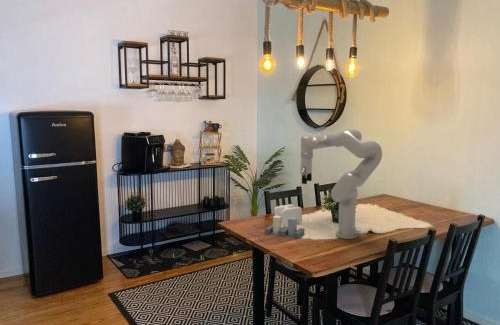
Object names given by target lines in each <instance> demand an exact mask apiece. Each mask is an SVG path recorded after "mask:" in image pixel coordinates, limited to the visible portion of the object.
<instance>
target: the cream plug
mask: <svg viewBox="0 0 500 325" xmlns="http://www.w3.org/2000/svg"><path fill="white" fill-rule="evenodd" d="M272 224H273V233H275V234H278V230H280V229H281V228H282V227H283V224H282V216H275V215H274V216H272Z"/></svg>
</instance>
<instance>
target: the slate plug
mask: <svg viewBox="0 0 500 325" xmlns="http://www.w3.org/2000/svg"><path fill="white" fill-rule="evenodd" d="M287 226H288V235H289V236H294V233H295V232H296V231H297V230H298V228H297V227H298V224H297V218H292V217H290V218H289V219H288V225H287Z"/></svg>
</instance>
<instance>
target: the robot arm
mask: <svg viewBox="0 0 500 325" xmlns="http://www.w3.org/2000/svg"><path fill="white" fill-rule="evenodd" d="M362 136H363V135H362V133H361V132H360V131H359V130H357V129H347V130H343V131H338V132H333V133H332V134H325V135H317V136H311V135H303V136H301V138H300V158H301V159H300V172H299V173H300V174H301V185H302V184H303V185H307V184H308V182H311V181H312V178H313V177H312V176H313V175H312V173H313V159H314V150H318V149H324V148H330V147H331V148H332V147H336V148H338V147H344V148H345V149H346V150H347V151H348V152H350V153H351V154H352V155H353V156H355V157H356V158H359V159H363V160H362V161H361V162H359V164H358V165H357V166H356V168H355V169H353V170H352V171H348V172H345V173H344V174H343V175H342V176H341V177H340V178H339V179H338V181H337V182H336V183H335V184H334V186H333V187H332V189H331V193H330V197H331V199H332V200H333V202H336V203H339V204H338V231H336V232H335V236H336V237H338V238H340V239H345V240H352V239H355V238H358V236H363V231H361V230H357V228H356V205H357V198H358V188H359V187H362V186H363V185H364V184H365V183H366V182H367V180H368V179H369V178H370V177H371V175H372V174H373V172H375V171H376V169H377V168H378V166H379V165H380V163H381V162H382V159H383V158H382V157H383V149H382V146H381V144H379V143H378V142H377V141H373V140H371V141H364V142H363V141H362V139H363V137H362Z"/></svg>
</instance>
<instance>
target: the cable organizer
mask: <svg viewBox="0 0 500 325" xmlns="http://www.w3.org/2000/svg"><path fill="white" fill-rule="evenodd" d="M274 216H282V226H288V219H289V218H290V217H292V218H297V225H300V224H302V221H303V208H302V207H301V206H295V205H294V204H293V203H292V204H291V203H290V204H285V205H277V206H275V207H274Z"/></svg>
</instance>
